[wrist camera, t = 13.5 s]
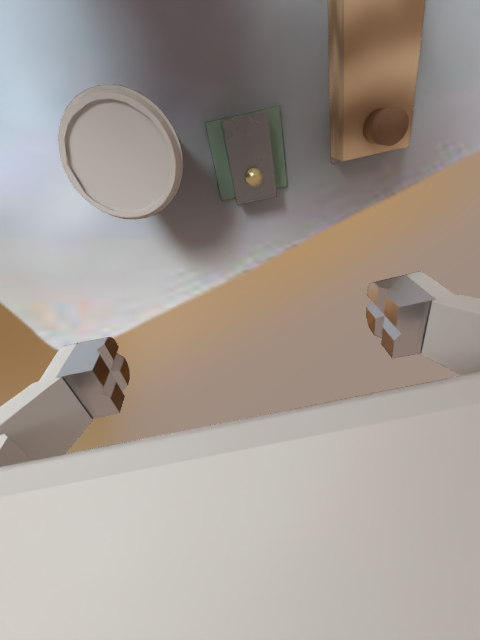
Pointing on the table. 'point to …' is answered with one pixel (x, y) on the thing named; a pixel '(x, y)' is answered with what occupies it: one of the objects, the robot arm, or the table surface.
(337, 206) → the table surface
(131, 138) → the disposable coffee cup
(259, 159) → the lever cap
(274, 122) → the felt pad
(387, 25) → the plane body
